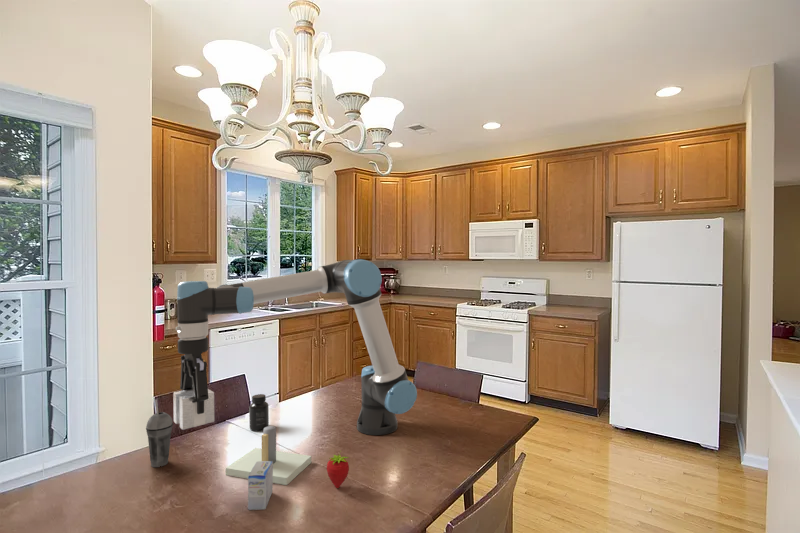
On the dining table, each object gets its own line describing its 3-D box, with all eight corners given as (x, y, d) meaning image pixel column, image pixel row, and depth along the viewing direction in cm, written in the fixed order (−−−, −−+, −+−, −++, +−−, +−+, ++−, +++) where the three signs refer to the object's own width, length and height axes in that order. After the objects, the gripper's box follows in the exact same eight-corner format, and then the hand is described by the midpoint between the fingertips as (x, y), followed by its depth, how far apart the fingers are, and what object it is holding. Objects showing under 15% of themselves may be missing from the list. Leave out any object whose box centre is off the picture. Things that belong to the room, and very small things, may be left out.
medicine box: (255, 493, 112) (255, 460, 112) (273, 492, 112) (273, 460, 112) (247, 510, 104) (247, 475, 104) (266, 509, 104) (266, 475, 104)
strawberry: (343, 478, 120) (343, 443, 120) (352, 491, 113) (352, 454, 113) (323, 483, 117) (323, 447, 117) (331, 496, 110) (331, 458, 110)
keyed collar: (173, 421, 115) (173, 392, 115) (204, 414, 121) (203, 386, 121) (182, 429, 110) (182, 399, 110) (214, 421, 115) (214, 392, 115)
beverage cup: (178, 460, 131) (178, 396, 131) (158, 471, 124) (158, 403, 124) (160, 456, 133) (160, 393, 133) (139, 467, 126) (139, 400, 126)
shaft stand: (225, 474, 122) (225, 433, 122) (255, 454, 135) (255, 416, 135) (286, 485, 116) (286, 441, 116) (311, 462, 129) (311, 423, 129)
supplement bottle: (271, 424, 160) (271, 393, 160) (264, 432, 153) (264, 399, 153) (254, 424, 161) (254, 392, 160) (246, 431, 154) (245, 398, 154)
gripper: (167, 334, 120) (167, 414, 120) (190, 344, 105) (191, 435, 105) (195, 331, 125) (195, 408, 125) (221, 340, 110) (222, 427, 110)
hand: (194, 420), depth 115 cm, fingers closed on keyed collar, 8 cm apart
